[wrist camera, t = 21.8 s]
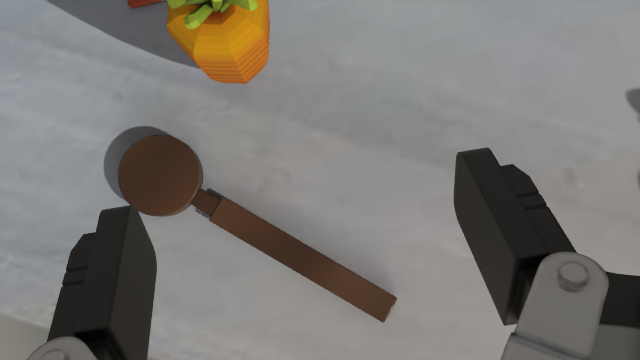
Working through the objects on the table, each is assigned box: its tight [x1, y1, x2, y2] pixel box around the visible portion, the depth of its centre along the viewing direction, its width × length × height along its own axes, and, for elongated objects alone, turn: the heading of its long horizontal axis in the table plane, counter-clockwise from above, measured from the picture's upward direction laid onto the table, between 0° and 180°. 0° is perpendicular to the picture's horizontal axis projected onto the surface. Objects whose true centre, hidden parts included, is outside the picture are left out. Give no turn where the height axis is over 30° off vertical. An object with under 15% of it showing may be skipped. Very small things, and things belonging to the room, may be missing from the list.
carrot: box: [167, 0, 270, 84], centre depth 30 cm, size 5×5×15 cm
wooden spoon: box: [118, 135, 397, 322], centre depth 36 cm, size 19×5×1 cm, turn 60°
